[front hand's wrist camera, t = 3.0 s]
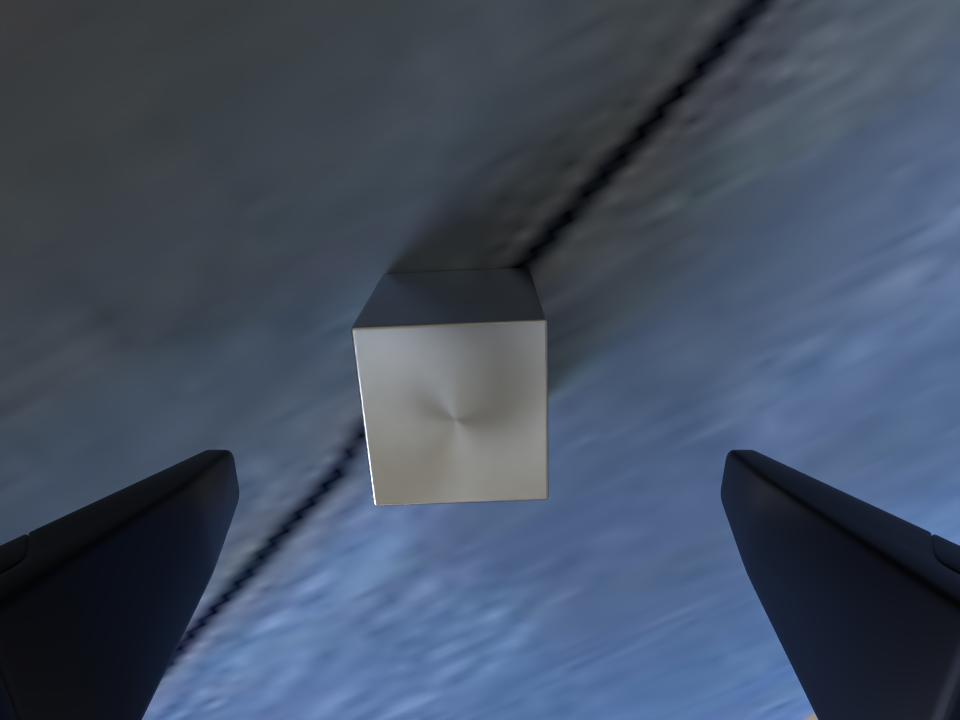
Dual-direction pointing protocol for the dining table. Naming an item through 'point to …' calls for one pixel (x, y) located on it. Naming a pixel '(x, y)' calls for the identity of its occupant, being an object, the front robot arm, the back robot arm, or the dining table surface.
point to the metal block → (454, 387)
